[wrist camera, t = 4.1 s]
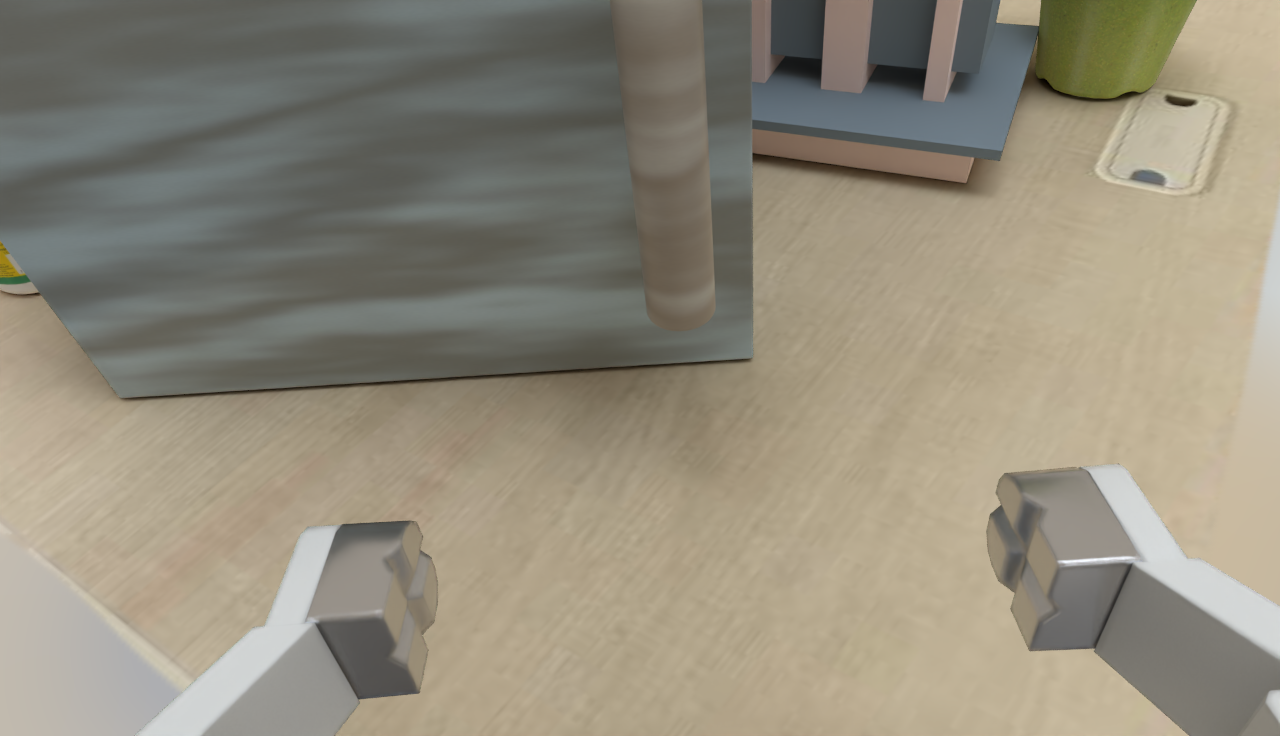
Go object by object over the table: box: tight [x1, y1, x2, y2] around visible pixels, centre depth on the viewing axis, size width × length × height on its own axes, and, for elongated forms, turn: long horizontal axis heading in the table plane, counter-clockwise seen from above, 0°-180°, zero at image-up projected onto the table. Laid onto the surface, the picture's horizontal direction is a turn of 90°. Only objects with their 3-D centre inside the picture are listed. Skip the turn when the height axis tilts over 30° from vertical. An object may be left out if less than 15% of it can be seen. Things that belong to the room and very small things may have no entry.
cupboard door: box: [0, 0, 753, 398], centre depth 23 cm, size 7×26×24 cm, turn 89°
